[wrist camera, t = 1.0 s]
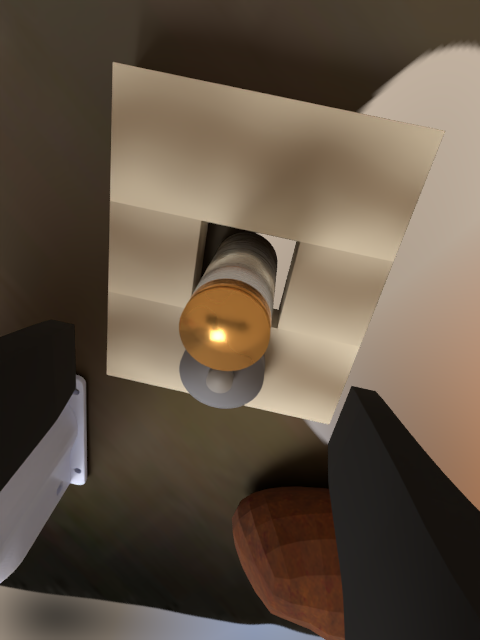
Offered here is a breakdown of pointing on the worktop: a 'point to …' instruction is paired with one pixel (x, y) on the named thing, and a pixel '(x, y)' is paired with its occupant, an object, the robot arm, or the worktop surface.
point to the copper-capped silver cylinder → (232, 305)
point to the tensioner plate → (252, 229)
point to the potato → (293, 556)
